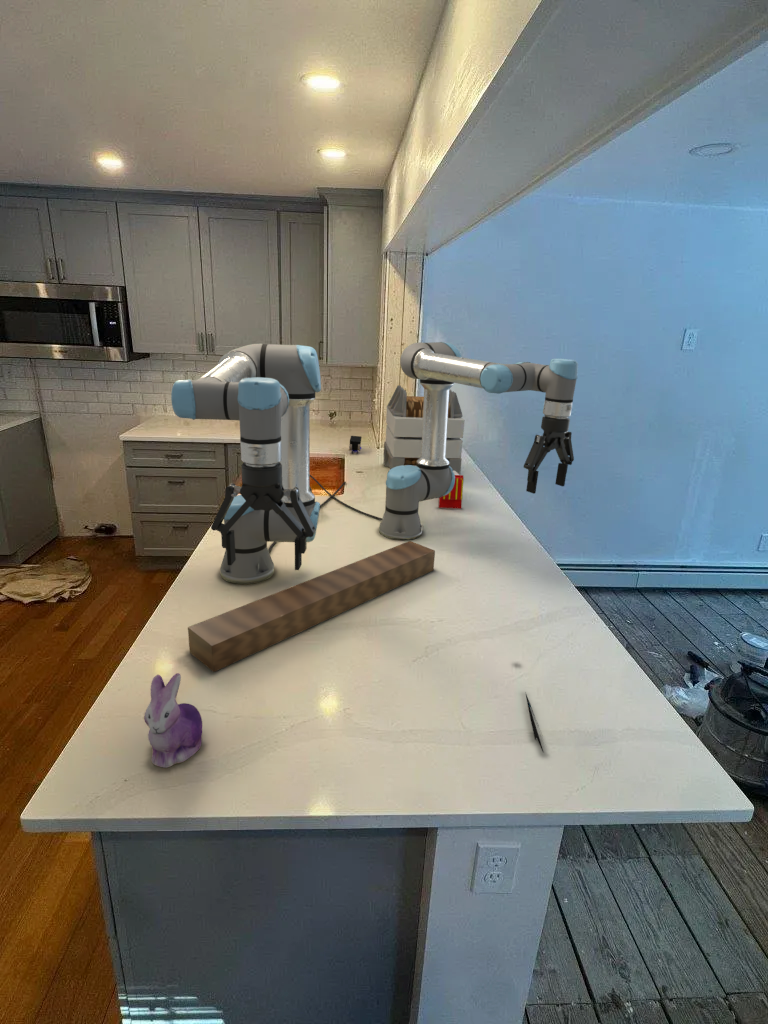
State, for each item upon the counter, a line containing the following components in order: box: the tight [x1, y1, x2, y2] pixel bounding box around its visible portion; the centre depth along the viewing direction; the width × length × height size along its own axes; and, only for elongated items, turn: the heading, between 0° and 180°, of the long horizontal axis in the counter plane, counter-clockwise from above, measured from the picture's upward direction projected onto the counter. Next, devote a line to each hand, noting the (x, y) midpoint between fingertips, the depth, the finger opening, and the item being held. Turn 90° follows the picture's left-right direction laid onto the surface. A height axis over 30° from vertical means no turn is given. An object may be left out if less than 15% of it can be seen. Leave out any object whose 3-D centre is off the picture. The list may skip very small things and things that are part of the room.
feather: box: [525, 691, 547, 753], centre depth 115 cm, size 2×28×2 cm
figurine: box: [143, 672, 203, 768], centre depth 97 cm, size 9×10×15 cm
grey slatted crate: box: [383, 384, 465, 475], centre depth 268 cm, size 34×33×41 cm
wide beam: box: [187, 540, 436, 673], centre depth 149 cm, size 75×10×7 cm, turn 137°
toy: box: [438, 471, 465, 510], centre depth 239 cm, size 12×13×30 cm
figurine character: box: [348, 435, 363, 455], centre depth 309 cm, size 7×8×15 cm
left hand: (264, 565), depth 114 cm, fingers open, 13 cm apart
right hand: (545, 488), depth 166 cm, fingers open, 13 cm apart
